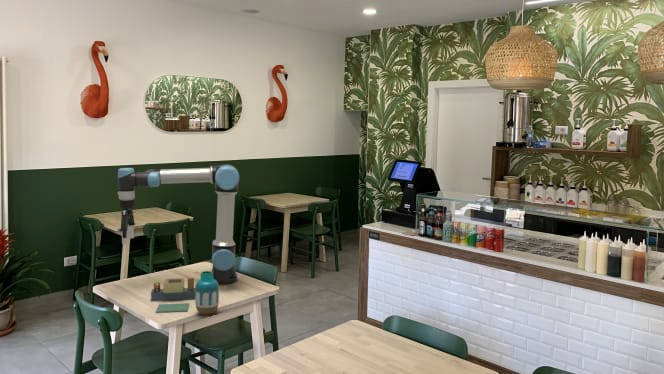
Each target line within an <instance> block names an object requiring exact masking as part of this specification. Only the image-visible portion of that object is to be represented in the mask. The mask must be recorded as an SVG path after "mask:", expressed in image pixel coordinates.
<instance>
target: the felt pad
mask: <svg viewBox="0 0 664 374" xmlns="http://www.w3.org/2000/svg"><path fill="white" fill-rule="evenodd" d="M189 308H190V303H189V302H186V303H185V302H184V303H182V302H180V303H161V304H158V306H157V308H156V310H155V314H162V313H164V314H165V313H187V312H188V311H189Z"/></svg>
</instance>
